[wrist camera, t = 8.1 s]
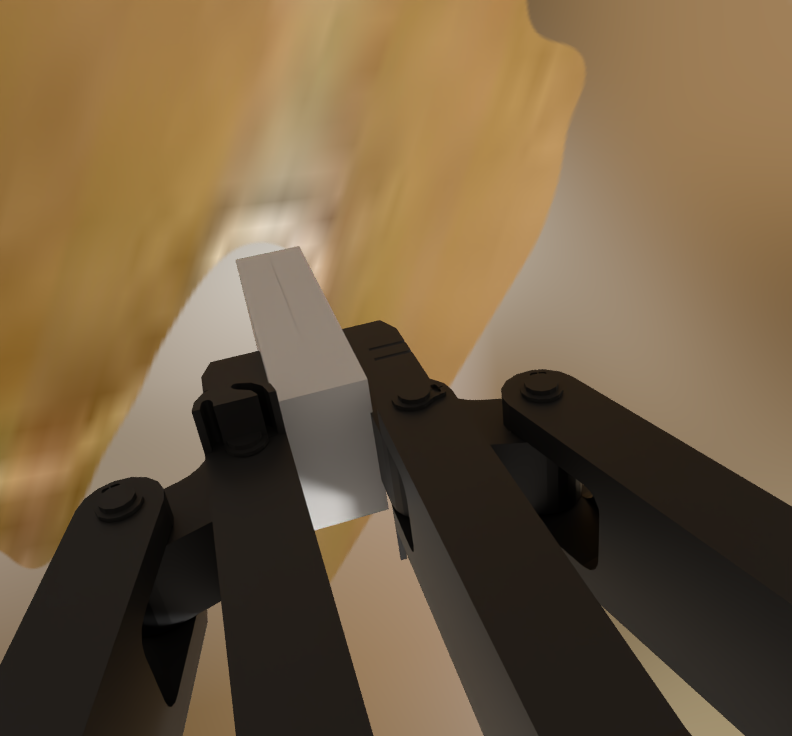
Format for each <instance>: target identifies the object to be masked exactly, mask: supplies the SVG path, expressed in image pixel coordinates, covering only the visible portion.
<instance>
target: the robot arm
mask: <svg viewBox="0 0 792 736" xmlns="http://www.w3.org/2000/svg"><path fill="white" fill-rule="evenodd" d="M236 264H237V268H238V272H239V276H240V280H241V284H242V288H243V292H244V296H245V300H246V304H247V308H248V313H249V317H250V321H251V325H252V329H253V333H254V337H255V341H256V345H257V349H258V351H256V352H252V353H248V354H244V355H239V356H236V357H231V358H227V359H222V360H218V361H214V362H210V364H209V366H208V367H207V369H206V371H205V372H204V374H203V375H202V377H201V378H202V386H203V394H202V395H201V396H200V397H199V398H198V399H197V400H196V401H195V402H194V405H193V408H192V414H193V418H194V421H195V424H196V427H197V430H198V433H199V437H200V440H201V443H202V447H203V450H204V453H205V461H204V462H203V463H202V465H201V466H200V467H199V468H198V469H197V470H196V471H194V472H193V473H192V474H191V475H190V476H188V477H186V478H184V479H182V480H181V481H179V482H178V483H175V484H173V485H171V486H169V487H167V488H165V489H163V488H162V486H161V485H160V484H159V482H158V481H155V480H153V479H150V478H147V477H130V478H126V479H122V480H117V481H114V482H112V483H109V484H108V485H105V486H103V487H101V488H99V489H97V490H96V491H95V492H93V493H92V494H91V495H89V496H88V497H87V498H85V499H84V500H83V502H82V503H81V504H80V506H79V507H78V508H77V510H76V511H75V513H74V515H73V517H72V519H71V521H70V523H69V525H68V527H67V530H66V532H65V534H64V536H63V538H62V540H61V542H60V544H59V546H58V548H57V550H56V552H55V554H54V556H53V558H52V560H51V562H50V564H49V566H48V568H47V570H46V572H45V574H44V577H43V579H42V581H41V583H40V585H39V587H38V589H37V591H36V593H35V595H34V597H33V599H32V601H31V603H30V605H29V607H28V609H27V611H26V613H25V615H24V617H23V619H22V622H21V624H20V626H19V628H18V630H17V632H16V634H15V636H14V638H13V640H12V642H11V644H10V646H9V648H8V650H7V652H6V654H5V656H4V659H3V660H2V663H1V664H0V736H183V732H184V727H185V722H186V718H187V713H188V708H189V704H190V699H191V695H192V690H193V686H194V681H195V677H196V672H197V668H198V663H199V659H200V654H201V649H202V645H203V640H204V636H205V631H206V627H207V622H208V621H207V609H208V608H210V607H211V606H213V605H215V604H216V603H218V602H220V601H221V604H222V613H223V622H224V631H225V640H226V649H227V658H228V667H229V676H230V685H231V694H232V704H233V713H234V721H235V731H236V736H373V733H372V729H371V726H370V722H369V719H368V715H367V712H366V708H365V705H364V701H363V698H362V694H361V691H360V688H359V684H358V680H357V677H356V673H355V670H354V667H353V663H352V660H351V656H350V653H349V649H348V646H347V642H346V639H345V635H344V632H343V629H342V625H341V622H340V618H339V614H338V611H337V608H336V604H335V601H334V597H333V594H332V590H331V587H330V583H329V580H328V576H327V573H326V569H325V566H324V562H323V559H322V555H321V552H320V549H319V545H318V542H317V538H316V535H315V531H314V530H317V529H321V528H324V527H328V526H331V525H335V524H338V523H342V522H345V521H349V520H352V519H356V518H359V517H363V516H366V515H370V514H373V513H377V512H380V511H384V510H387V509H388V502H387V496H386V492H387V494H388V496H389V499H390V501H391V503H392V507H393V514H394V519H395V526H396V532H397V538H398V545H399V551H400V558H401V560H403V559H407V555H408V558H409V560H410V563H411V565H412V567H413V569H414V572H415V574H416V577H417V579H418V581H419V584H420V586H421V588H422V591H423V593H424V596H425V598H426V600H427V603H428V605H429V607H430V610H431V612H432V614H433V617H434V619H435V621H436V624H437V626H438V629H439V631H440V633H441V636H442V638H443V640H444V643H445V645H446V647H447V650H448V652H449V654H450V657H451V659H452V661H453V664H454V666H455V669H456V671H457V673H458V676H459V678H460V680H461V683H462V685H463V688H464V690H465V692H466V695H467V697H468V699H469V702H470V704H471V706H472V709H473V711H474V713H475V716H476V718H477V720H478V723H479V725H480V728H481V730H482V732H483V735H484V736H692V735H691V734H690V733H689V732H688V730H687V729H686V728H685V727H684V725H683V724H682V722H681V721H680V719H679V718H678V717H677V715H676V714H675V712H674V711H673V709H672V708H671V706H670V705H669V703H668V702H667V701H666V699H665V698H664V696H663V695H662V694H661V692H660V690H659V689H658V687H657V686H656V685H655V683H654V682H653V680H652V679H651V678H650V676H649V675H648V673H647V672H646V671H645V669H644V667H643V666H642V664H641V663H640V661H639V660H638V659H637V657H636V656H635V654H634V653H633V652H632V650H631V648H630V647H629V646H628V644H627V643H626V641H625V640H624V638H623V637H622V635H621V634H620V632H619V631H618V630H617V628H616V627H615V625H614V624H613V622H612V621H611V619H610V618H609V617H608V615H607V614H606V613H605V611H604V609H603V608H602V606H603V607H604V608H605V609H606V610H607V611H608V612H609V613H610V614H611V615H612V616H614V617H615V618H616V619H617V620H618V621H619V622H620V623H621V624H623V626H625V627H626V628H627V629H628V630H629V631H630V632H631V633H632V634H633V635H634V636H636V637H637V638H638V639H639V640H640V641H641V642H642V643H643V644H645V646H647V647H648V648H649V649H650V650H651V651H652V652H653V653H654V654H655V655H657V656H658V657H659V658H660V659H661V660H662V661H663V662H665V664H666V665H668V666H669V667H670V668H671V669H672V670H673V671H674V672H675V673H676V674H678V675H679V676H680V677H681V678H682V679H683V680H684V681H685V682H686V683H688V684H689V685H690V686H691V687H692V688H693V689H694V690H695V691H696V692H698V694H700V695H701V696H702V697H703V698H704V699H705V700H706V701H707V702H708V703H710V704H711V705H712V706H713V707H714V708H715V709H716V710H718V712H720V713H721V714H722V715H723V716H724V717H725V718H726V719H727V720H728V721H729V722H731V723H732V724H733V725H734V726H735V727H736V728H737V729H738V730H739V731H740V732H742V733H743V734H744V735H745V736H792V506H790V505H788V504H787V503H785V502H783V501H782V500H780V499H778V498H776V497H775V496H773V495H772V494H770V493H768V492H766V491H765V490H763V489H761V488H760V487H758V486H756V485H755V484H753V483H751V482H749V481H748V480H746V479H744V478H743V477H741V476H739V475H738V474H736V473H734V472H733V471H731V470H729V469H727V468H726V467H724V466H722V465H721V464H719V463H717V462H716V461H714V460H712V459H711V458H709V457H707V456H705V455H704V454H702V453H700V452H699V451H697V450H695V449H694V448H692V447H690V446H689V445H687V444H685V443H684V442H682V441H680V440H679V439H677V438H675V437H674V436H672V435H670V434H669V433H667V432H665V431H663V430H662V429H660V428H658V427H657V426H655V425H653V424H652V423H650V422H648V421H647V420H645V419H643V418H642V417H640V416H638V415H636V414H635V413H633V412H631V411H630V410H628V409H626V408H625V407H623V406H621V405H620V404H618V403H616V402H615V401H613V400H611V399H609V398H608V397H606V396H604V395H603V394H601V393H599V392H598V391H596V390H594V389H592V388H591V387H589V386H587V385H586V384H584V383H582V382H581V381H579V380H577V379H576V378H574V377H572V376H570V375H567V374H565V373H562V372H559V371H552V370H543V369H542V370H531V371H527V372H524V373H520V374H517V375H515V376H513V377H512V378H510V379H509V380H507V381H506V382H505V384H504V385H503V387H502V389H501V392H502V399H491V400H464V399H458V398H457V397H456V395H455V394H454V392H453V391H452V390H451V389H450V388H449V387H448V386H447V385H445V384H444V383H442V382H439V381H436V380H433V379H430V378H429V377H428V375H427V374H426V372H425V371H424V369H423V368H422V366H421V365H420V363H419V362H418V360H417V359H416V357H415V356H414V354H413V353H412V352H411V350H410V348H409V347H408V345H407V344H406V342H404V339H403V338H402V336H401V335H400V333H399V332H398V330H397V329H396V328H395V327H393V326H391V325H389V324H387V323H384V322H382V321H380V320H379V321H374V322H370V323H366V324H362V325H358V326H353V327H349V328H345V329H341V327H340V325H339V323H338V321H337V319H336V317H335V315H334V313H333V311H332V309H331V307H330V305H329V303H328V301H327V299H326V297H325V295H324V294H323V292H322V290H321V288H320V286H319V284H318V282H317V280H316V278H315V276H314V274H313V272H312V270H311V268H310V266H309V264H308V262H307V260H306V258H305V257H304V255H303V253H302V251H301V249H300V247H299V246H298V247H293V248H288V249H284V250H279V251H275V252H270V253H265V254H260V255H256V256H251V257H247V258H242V259H237V260H236ZM385 489H386V490H385Z"/></svg>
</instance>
